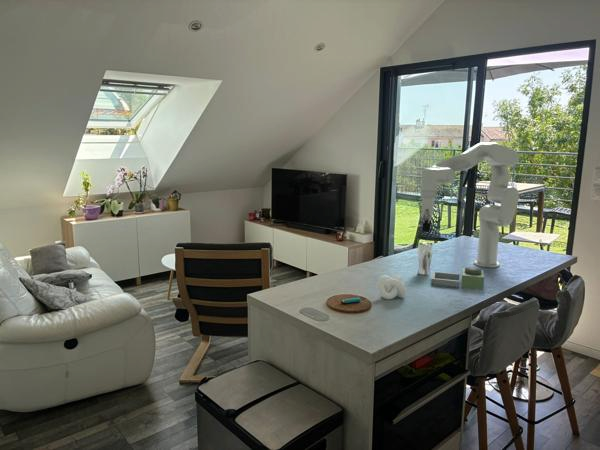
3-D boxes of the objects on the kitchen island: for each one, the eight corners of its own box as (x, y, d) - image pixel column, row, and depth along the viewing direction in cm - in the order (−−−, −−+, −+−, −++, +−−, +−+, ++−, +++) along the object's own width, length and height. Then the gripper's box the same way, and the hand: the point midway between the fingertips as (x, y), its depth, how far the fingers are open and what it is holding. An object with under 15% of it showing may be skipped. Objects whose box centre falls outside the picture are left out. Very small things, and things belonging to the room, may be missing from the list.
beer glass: (431, 276, 226) (433, 246, 223) (417, 275, 227) (418, 245, 224) (430, 271, 233) (432, 242, 230) (416, 271, 234) (418, 241, 231)
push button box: (432, 277, 224) (433, 262, 222) (481, 282, 217) (483, 266, 216) (431, 285, 213) (432, 269, 211) (483, 290, 206) (484, 273, 204)
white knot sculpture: (412, 297, 197) (414, 277, 196) (396, 304, 189) (397, 283, 187) (390, 290, 205) (391, 271, 203) (374, 297, 197) (374, 277, 195)
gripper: (422, 191, 231) (419, 225, 235) (419, 196, 215) (417, 232, 219) (437, 192, 229) (435, 226, 232) (436, 196, 213) (433, 233, 216)
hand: (426, 229), depth 225 cm, fingers open, 9 cm apart
